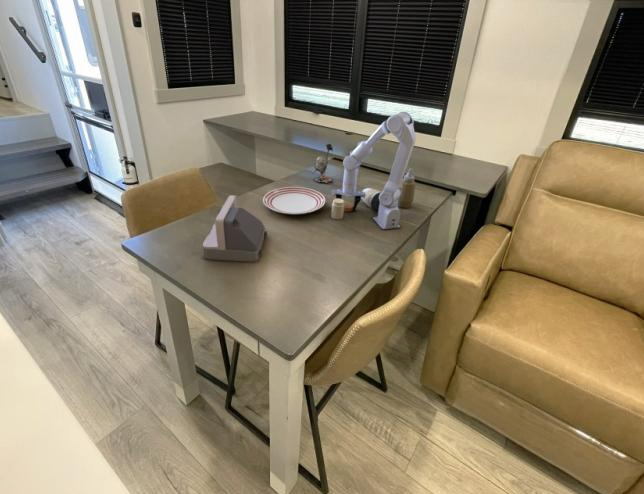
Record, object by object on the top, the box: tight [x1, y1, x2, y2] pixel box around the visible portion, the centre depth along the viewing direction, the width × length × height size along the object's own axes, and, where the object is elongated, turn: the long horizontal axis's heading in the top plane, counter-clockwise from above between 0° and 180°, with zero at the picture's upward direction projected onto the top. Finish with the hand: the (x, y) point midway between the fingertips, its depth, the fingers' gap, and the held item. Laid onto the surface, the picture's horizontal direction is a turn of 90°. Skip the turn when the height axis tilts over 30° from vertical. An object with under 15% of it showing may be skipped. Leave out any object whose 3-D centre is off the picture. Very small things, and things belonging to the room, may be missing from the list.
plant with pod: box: [312, 142, 334, 184], centre depth 169 cm, size 8×11×20 cm
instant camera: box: [202, 195, 268, 263], centre depth 113 cm, size 21×21×15 cm
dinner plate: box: [262, 186, 326, 216], centre depth 146 cm, size 27×27×3 cm
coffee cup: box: [361, 187, 382, 213], centre depth 145 cm, size 9×9×15 cm
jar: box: [330, 198, 345, 220], centre depth 138 cm, size 5×5×7 cm
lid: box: [344, 201, 354, 212], centre depth 146 cm, size 6×6×2 cm
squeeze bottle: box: [398, 167, 416, 209], centre depth 149 cm, size 8×8×18 cm
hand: (346, 210), depth 146 cm, fingers closed on lid, 5 cm apart
